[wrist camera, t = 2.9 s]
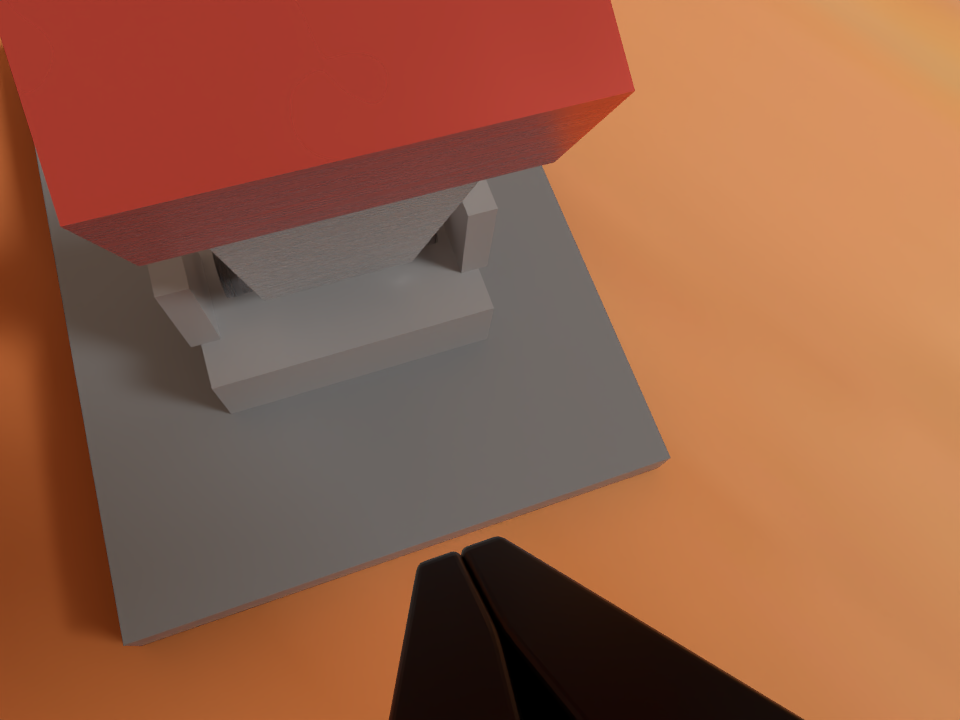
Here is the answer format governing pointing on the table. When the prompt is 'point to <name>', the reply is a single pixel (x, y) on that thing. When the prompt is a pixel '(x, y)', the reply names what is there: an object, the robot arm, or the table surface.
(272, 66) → the lever
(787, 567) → the table surface
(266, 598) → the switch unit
